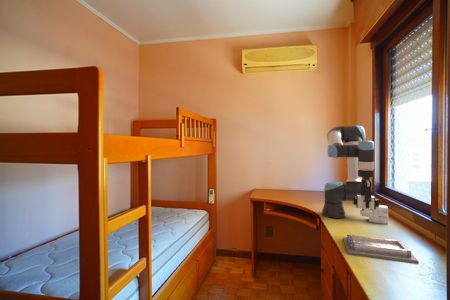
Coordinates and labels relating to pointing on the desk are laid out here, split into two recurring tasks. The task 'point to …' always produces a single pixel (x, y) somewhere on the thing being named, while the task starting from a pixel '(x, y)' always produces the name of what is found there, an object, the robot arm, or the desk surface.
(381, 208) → the light bulb box
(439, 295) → the desk surface
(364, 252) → the mounting board
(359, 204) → the pneumatic valve
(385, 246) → the shallow rectangular tray
